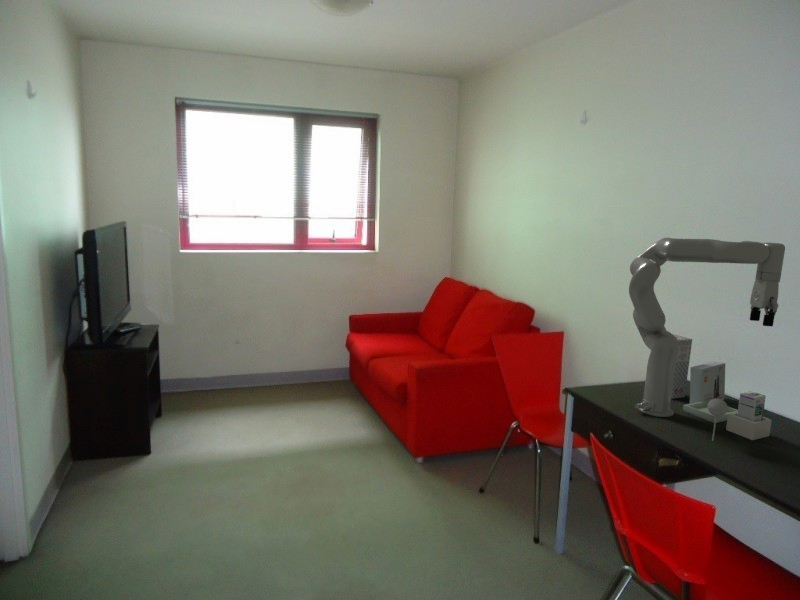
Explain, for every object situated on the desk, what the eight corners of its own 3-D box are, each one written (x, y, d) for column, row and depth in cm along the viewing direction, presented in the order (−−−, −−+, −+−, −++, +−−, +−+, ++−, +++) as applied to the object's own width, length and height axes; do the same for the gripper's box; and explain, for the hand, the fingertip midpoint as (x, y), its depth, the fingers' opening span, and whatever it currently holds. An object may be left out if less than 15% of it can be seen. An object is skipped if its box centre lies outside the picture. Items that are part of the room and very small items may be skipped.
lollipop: (722, 446, 183) (728, 403, 180) (702, 441, 186) (708, 399, 183) (722, 440, 188) (729, 398, 185) (703, 435, 191) (709, 394, 188)
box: (670, 399, 228) (677, 340, 224) (653, 392, 235) (660, 335, 231) (684, 396, 231) (692, 339, 227) (667, 390, 239) (674, 334, 235)
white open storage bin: (752, 440, 189) (755, 423, 188) (725, 429, 197) (728, 413, 196) (769, 436, 193) (771, 419, 192) (742, 426, 201) (744, 410, 200)
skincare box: (703, 408, 218) (702, 368, 217) (689, 406, 222) (688, 367, 221) (726, 400, 230) (725, 362, 230) (712, 398, 235) (712, 361, 234)
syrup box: (751, 437, 191) (757, 397, 189) (734, 431, 196) (740, 392, 194) (760, 434, 194) (766, 395, 191) (743, 428, 199) (749, 390, 196)
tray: (713, 423, 203) (714, 416, 203) (682, 410, 214) (683, 404, 214) (741, 417, 210) (742, 411, 210) (709, 405, 221) (710, 399, 221)
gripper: (745, 273, 208) (739, 318, 211) (769, 279, 191) (761, 327, 194) (767, 274, 207) (760, 319, 210) (792, 280, 190) (784, 329, 193)
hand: (760, 323), depth 202 cm, fingers open, 9 cm apart
